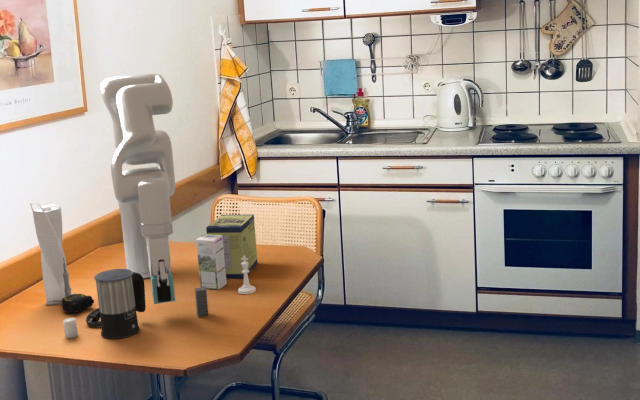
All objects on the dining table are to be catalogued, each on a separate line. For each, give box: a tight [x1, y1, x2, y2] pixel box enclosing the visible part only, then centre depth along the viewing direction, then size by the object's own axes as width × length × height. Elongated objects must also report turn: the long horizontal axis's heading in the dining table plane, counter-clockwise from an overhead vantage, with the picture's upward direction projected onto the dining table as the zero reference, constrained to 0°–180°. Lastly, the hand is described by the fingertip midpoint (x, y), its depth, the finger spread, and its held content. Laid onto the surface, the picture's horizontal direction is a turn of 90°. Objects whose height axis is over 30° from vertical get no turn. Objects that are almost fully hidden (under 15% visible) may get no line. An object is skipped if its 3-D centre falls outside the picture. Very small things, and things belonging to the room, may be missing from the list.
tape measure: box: [61, 293, 95, 313], centre depth 215 cm, size 7×7×4 cm
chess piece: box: [237, 256, 257, 295], centre depth 222 cm, size 5×5×10 cm
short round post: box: [62, 317, 79, 339], centre depth 197 cm, size 3×3×4 cm
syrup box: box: [195, 234, 228, 290], centre depth 227 cm, size 6×6×14 cm
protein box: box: [205, 214, 258, 280], centre depth 241 cm, size 10×16×16 cm
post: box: [194, 287, 210, 318], centre depth 206 cm, size 3×3×7 cm
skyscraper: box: [29, 201, 77, 306], centre depth 222 cm, size 8×8×28 cm
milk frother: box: [85, 268, 147, 340], centre depth 199 cm, size 14×16×15 cm
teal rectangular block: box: [150, 271, 176, 305], centre depth 205 cm, size 5×5×7 cm
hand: (163, 296), depth 206 cm, fingers closed on teal rectangular block, 5 cm apart
